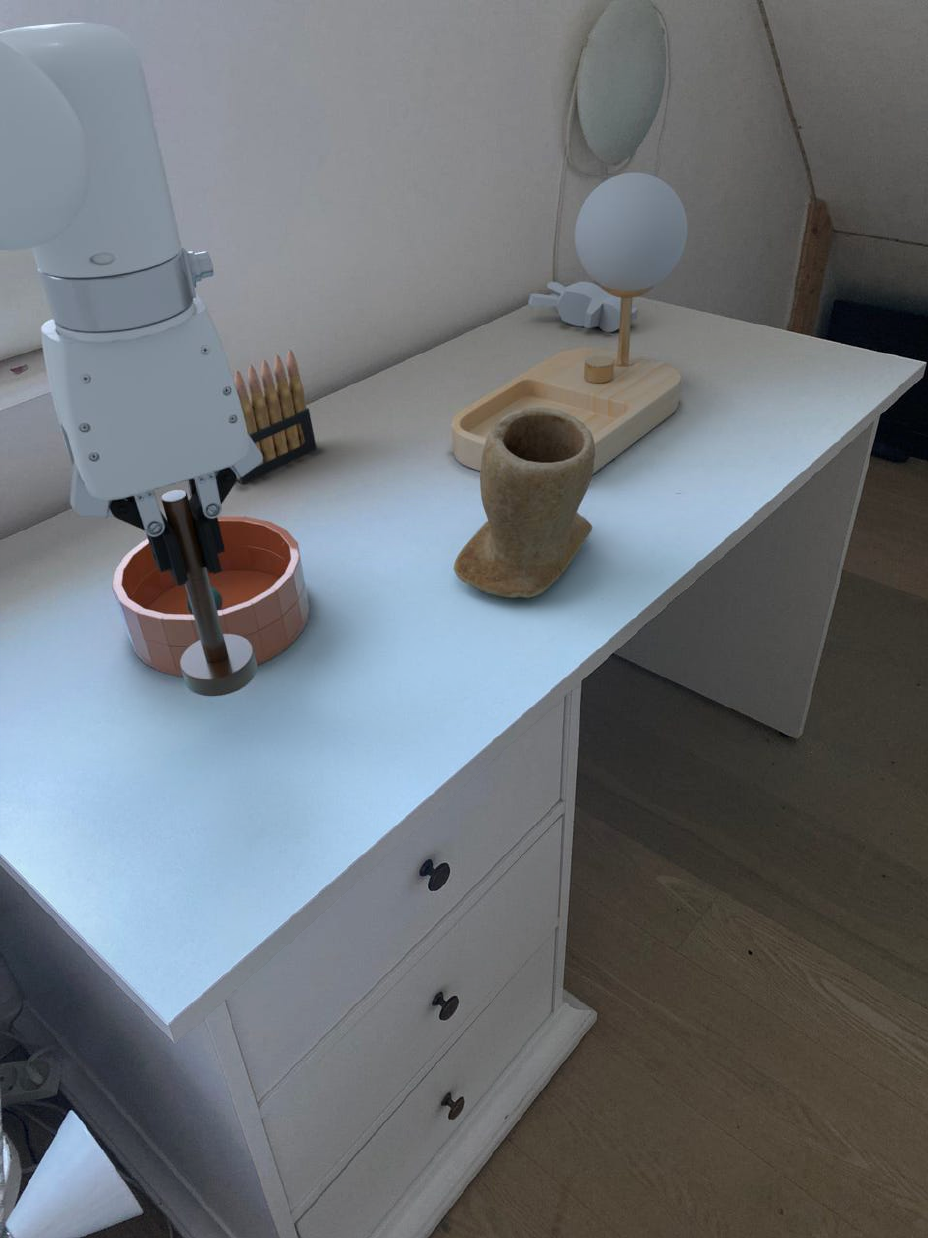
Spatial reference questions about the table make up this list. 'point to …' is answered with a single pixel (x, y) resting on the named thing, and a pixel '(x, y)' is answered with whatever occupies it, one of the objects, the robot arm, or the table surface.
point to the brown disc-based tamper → (206, 616)
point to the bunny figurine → (583, 305)
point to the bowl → (249, 586)
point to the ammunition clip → (276, 416)
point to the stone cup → (529, 503)
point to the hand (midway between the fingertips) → (193, 567)
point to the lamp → (615, 380)
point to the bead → (216, 598)
